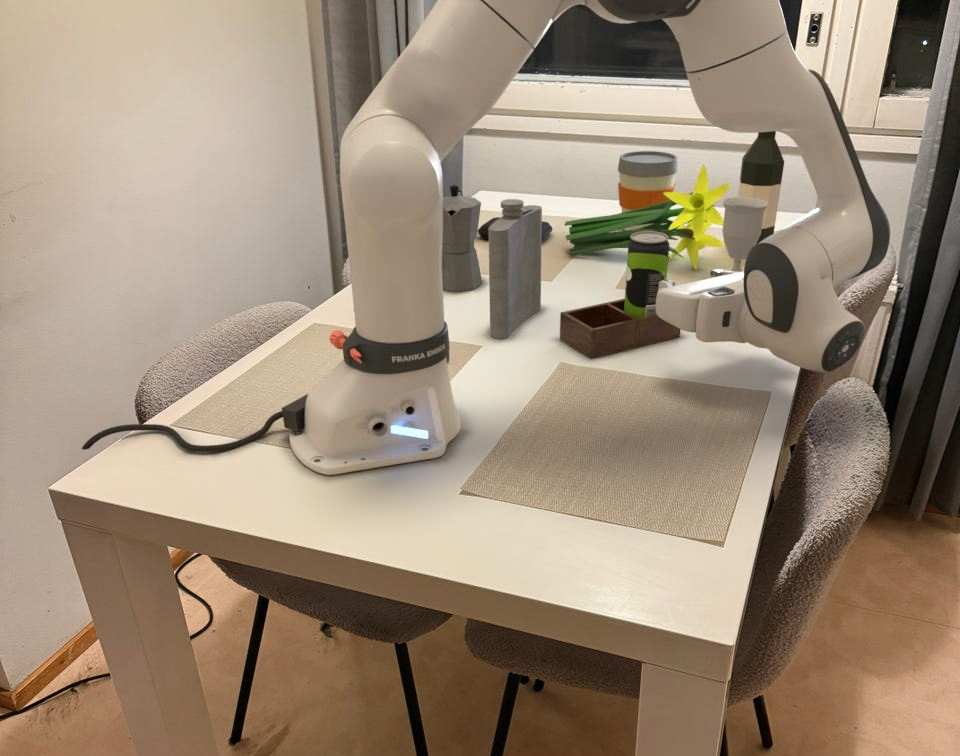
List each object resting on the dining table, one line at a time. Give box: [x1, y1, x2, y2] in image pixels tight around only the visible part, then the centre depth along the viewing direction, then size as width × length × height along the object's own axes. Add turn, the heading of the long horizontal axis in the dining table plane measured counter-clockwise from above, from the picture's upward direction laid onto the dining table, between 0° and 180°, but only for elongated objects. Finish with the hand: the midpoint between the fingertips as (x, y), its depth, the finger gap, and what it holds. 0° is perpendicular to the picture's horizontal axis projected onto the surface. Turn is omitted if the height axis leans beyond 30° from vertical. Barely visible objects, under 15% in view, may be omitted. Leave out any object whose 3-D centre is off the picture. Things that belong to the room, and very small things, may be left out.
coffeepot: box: [442, 184, 483, 293], centre depth 164 cm, size 15×9×18 cm, turn 176°
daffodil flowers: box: [564, 164, 731, 270], centre depth 173 cm, size 17×15×35 cm
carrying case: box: [477, 216, 553, 242], centre depth 193 cm, size 11×3×15 cm
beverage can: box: [624, 231, 670, 318], centre depth 141 cm, size 6×6×15 cm
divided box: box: [559, 298, 681, 360], centre depth 143 cm, size 17×9×5 cm, turn 118°
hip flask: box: [488, 198, 543, 340], centre depth 146 cm, size 16×4×20 cm, turn 154°
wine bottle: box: [737, 131, 785, 244], centre depth 178 cm, size 8×8×30 cm
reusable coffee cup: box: [617, 150, 679, 231], centre depth 193 cm, size 13×13×15 cm
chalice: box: [722, 196, 768, 272], centre depth 149 cm, size 7×7×18 cm
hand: (688, 279), depth 131 cm, fingers open, 8 cm apart
